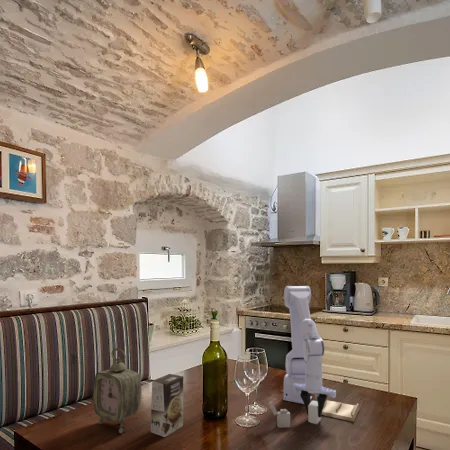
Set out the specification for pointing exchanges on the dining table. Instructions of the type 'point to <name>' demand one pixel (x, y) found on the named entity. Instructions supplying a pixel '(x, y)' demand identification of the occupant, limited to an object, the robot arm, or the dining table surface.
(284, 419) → the lighter
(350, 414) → the cream tray
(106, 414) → the tabletop clock
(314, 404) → the white rectangular box
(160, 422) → the coffee box
